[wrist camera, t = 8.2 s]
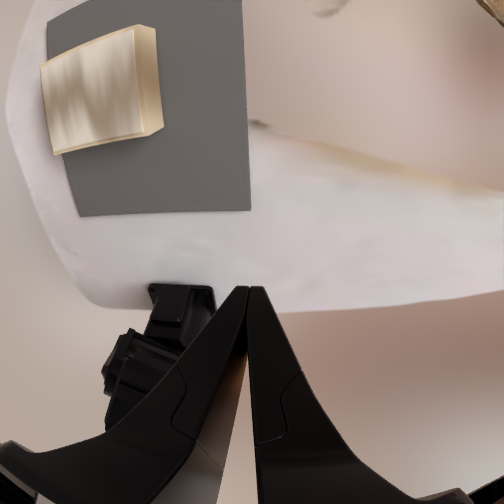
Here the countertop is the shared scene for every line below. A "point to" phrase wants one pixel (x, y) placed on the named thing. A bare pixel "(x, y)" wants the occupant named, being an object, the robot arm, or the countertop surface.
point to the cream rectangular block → (103, 90)
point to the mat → (169, 111)
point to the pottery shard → (494, 9)
